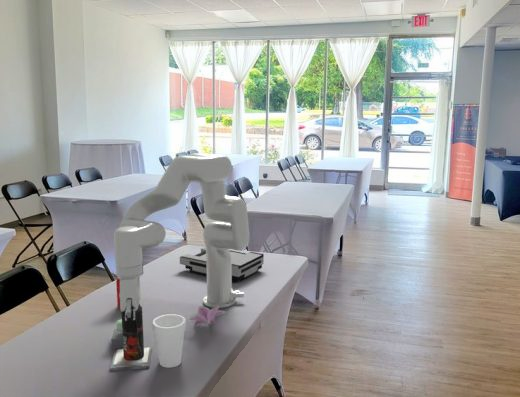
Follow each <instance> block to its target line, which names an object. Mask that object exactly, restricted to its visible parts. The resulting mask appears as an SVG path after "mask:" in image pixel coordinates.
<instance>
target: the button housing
mask: <svg viewBox="0 0 520 397" xmlns="http://www.w3.org/2000/svg"><path fill="white" fill-rule="evenodd" d="M110 341H111V342H110V343H111V349H123V333H122V332H119V331H117V328H114V330H113V333H112V337H111V340H110Z"/></svg>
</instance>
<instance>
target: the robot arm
mask: <svg viewBox="0 0 520 397" xmlns="http://www.w3.org/2000/svg"><path fill="white" fill-rule="evenodd" d="M232 170H233V165H232V161H231V159H230V158H229V157H228V156H227V155H224V154H215V153H199V152H195V153H189V154H187V155H178V156H175V157H174V158H173V159H172V160H171V162H170V163H169V165H168V166H167V168H166V170H165V172H164V174H163V175H162V177H161V178H160V180H159V181H158V183H157V186H156V187H155V188H154V189H153V190H151V191H150V192H148V193H147V194H144V195H143V196H141V197H140V198H139V199H138V200H136V201H135V202H133V204H132V205H131V206H130V207H129V208H128V209H127V211H126V212H125V214H124V216H123V217H122V219H121V221H120V223H119V227H117V228H116V229H115V230H114V232H113V245H114V246H113V247H114V259H115V271H116V272H115V275H116V277H117V278H120V308H119V309H120V310H119V311H120V312H123V311H125V330H126V333H135V332H137V319H135V316H136V311H137V310H138V307H139V306H141V304H140V301H141V277H142V276H143V274H144V263H143V262H144V261H143V260H144V259H143V250H146V249H151V248H155V247H158V246H160V245H161V244H162V243H163V242H164V241H165V239H166V235H167V233H166V229H165V227H164V225H162V224H161V223H159V222H156V221H152V220H151V221H150V220H146V218H148V217H149V216H151V215H152V214H154V213H156V212H160V211H162V210H166V209H169V208H172V207H174V206H177V205H178V204H179V203H180V201H181V199H182V198H183V196H184V195H185V192H186V191H187V188H189V185H190V184H191V183H195V184H199V185H200V189H201V195H202V202H203V209H204V214H205V217H206V218H207V219H209V220H212V221H210V222H209V223H207V224H206V225H204V228H203V230H202V231H203V233H202V235H203V242H204V247H206V261H207V276H206V295H205V296H204V297H203V299H202V303H203V304H204V306H206V307H207V308H208V307H209V308H211V309H213V308H215V307H218V306H219V308H218V309H223V308H228V307H231V306H233V305H234V304H236V301H237V299H236V298H244V297H245V292H241V291H240V290H233V287H232V286H233V285H232V283H233V282H232V259H231V254H230V252H229V250H232V251H242V250H245V249H247V247H248V245H249V241H250V229H249V215H248V214H249V213H248V207H247V204H246V202H245V200H244V199H243V198H241V197H239V196H234V195H233V196H232V195H228V194H227V191H226V186H225V185H226V184H225V181H224V180H226V179H228V178H229V177H230V175H231V173H232ZM133 307H134V309H131V308H133ZM131 312H133V314H131Z"/></svg>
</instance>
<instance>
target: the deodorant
mask: <svg viewBox="0 0 520 397" xmlns="http://www.w3.org/2000/svg"><path fill="white" fill-rule="evenodd" d="M131 309H134V307H133V308H131ZM120 312H121V311H120ZM120 314H121V319H122V333H123V348H122V349H123V352H124V359H125V360H127V361H136V360H140V359H142V358H143V357H144V348H145V346H144V325H143V324H144V322H143V306H141V305H140V306H139V307H138V310H137V311H136V316H135V319H137V332H135V333H126V330H125V311H123V312H121V313H120ZM131 314H133V312H131Z"/></svg>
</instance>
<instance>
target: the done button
mask: <svg viewBox="0 0 520 397" xmlns="http://www.w3.org/2000/svg"><path fill="white" fill-rule="evenodd" d="M116 329H117V331H119V332H122V318H121V319H118V320H116Z"/></svg>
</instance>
